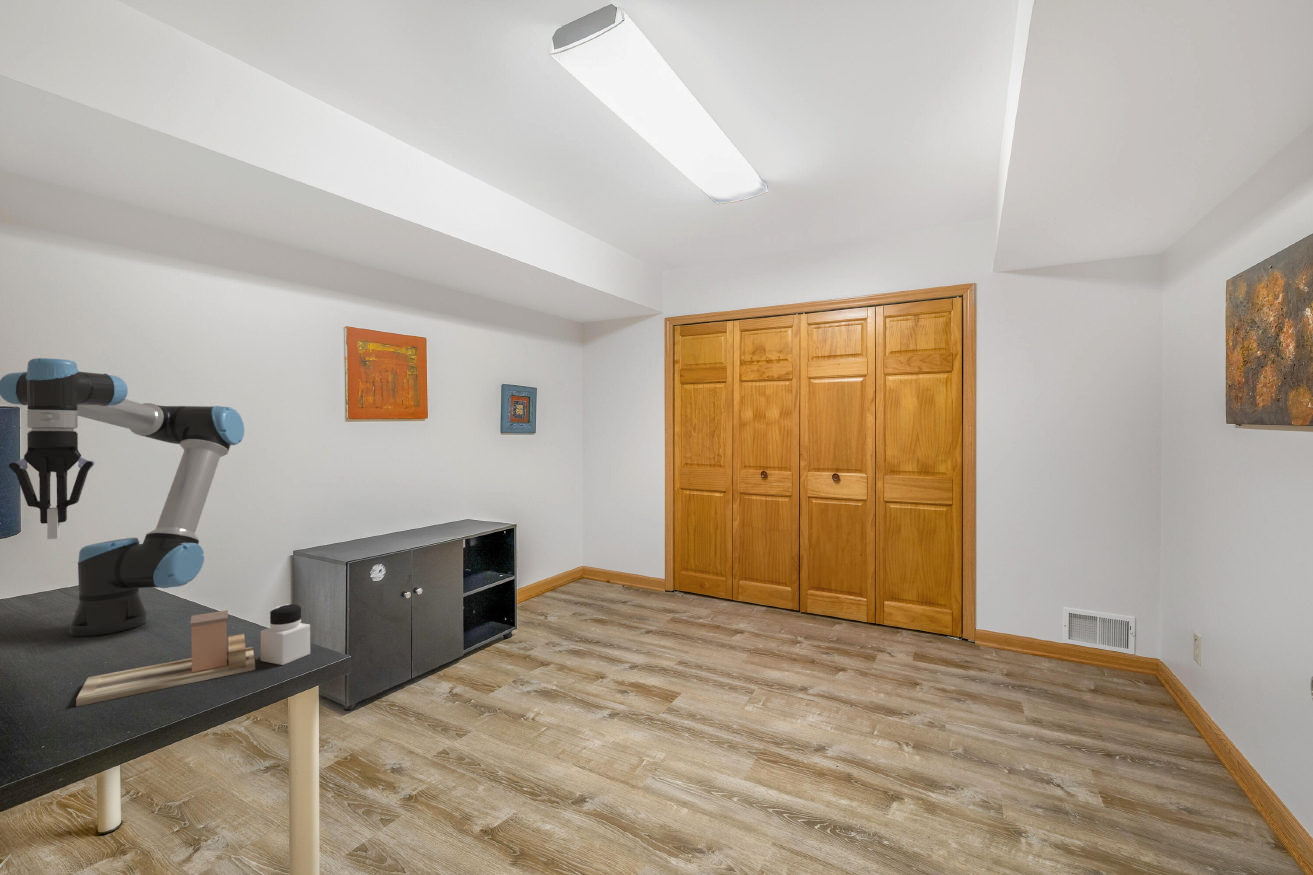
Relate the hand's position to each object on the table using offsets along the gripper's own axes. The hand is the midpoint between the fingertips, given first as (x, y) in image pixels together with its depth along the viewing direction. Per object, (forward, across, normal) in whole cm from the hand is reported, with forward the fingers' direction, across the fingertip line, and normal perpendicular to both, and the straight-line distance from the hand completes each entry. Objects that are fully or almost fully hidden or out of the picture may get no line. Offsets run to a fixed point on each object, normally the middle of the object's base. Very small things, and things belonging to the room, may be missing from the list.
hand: (53, 537), depth 124 cm
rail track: (+29, +21, -19) cm, 41 cm away
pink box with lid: (+28, +27, -19) cm, 43 cm away
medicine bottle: (+30, +41, -21) cm, 55 cm away
